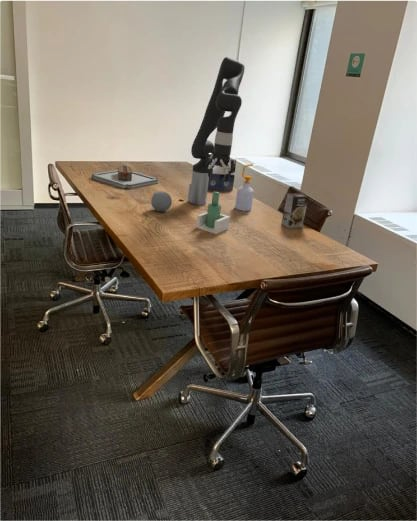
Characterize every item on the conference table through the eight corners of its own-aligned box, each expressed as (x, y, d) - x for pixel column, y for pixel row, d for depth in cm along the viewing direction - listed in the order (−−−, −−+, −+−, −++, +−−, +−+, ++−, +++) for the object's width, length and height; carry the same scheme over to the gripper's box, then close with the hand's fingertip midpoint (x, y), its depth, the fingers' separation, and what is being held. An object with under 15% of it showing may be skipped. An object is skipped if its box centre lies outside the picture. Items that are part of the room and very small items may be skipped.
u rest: (195, 227, 206) (197, 215, 203) (208, 222, 214) (210, 210, 212) (216, 234, 201) (217, 221, 198) (228, 228, 209) (230, 216, 207)
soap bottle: (250, 212, 239) (257, 166, 230) (233, 209, 241) (240, 163, 231) (251, 207, 247) (259, 163, 238) (235, 205, 249) (242, 161, 239)
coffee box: (288, 228, 221) (294, 196, 215) (280, 224, 227) (286, 193, 220) (302, 227, 226) (309, 196, 219) (295, 223, 231) (301, 192, 224)
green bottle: (203, 225, 206) (207, 192, 200) (210, 222, 211) (213, 190, 205) (214, 229, 203) (218, 195, 197) (221, 226, 208) (225, 192, 202)
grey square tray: (160, 184, 274) (161, 172, 271) (126, 191, 250) (127, 178, 247) (123, 173, 288) (124, 161, 285) (88, 179, 264) (89, 166, 261)
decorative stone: (159, 206, 229) (161, 187, 225) (174, 211, 224) (176, 192, 220) (146, 210, 221) (147, 190, 217) (161, 215, 216) (163, 195, 212)
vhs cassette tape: (231, 189, 280) (233, 174, 276) (232, 191, 278) (235, 175, 274) (203, 188, 274) (205, 172, 270) (205, 190, 272) (207, 174, 268)
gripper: (241, 145, 192) (236, 182, 198) (213, 139, 198) (209, 175, 205) (233, 146, 186) (227, 184, 192) (204, 140, 192) (200, 177, 199)
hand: (218, 179), depth 198 cm, fingers open, 8 cm apart
